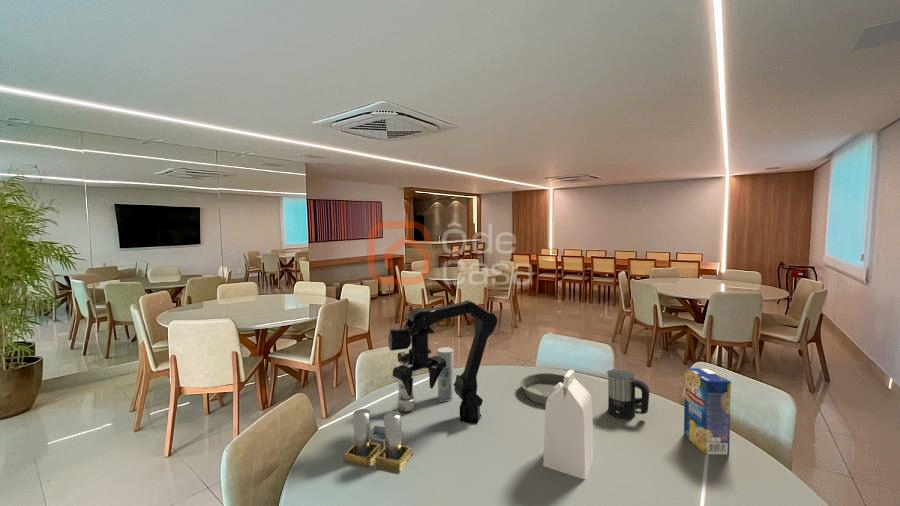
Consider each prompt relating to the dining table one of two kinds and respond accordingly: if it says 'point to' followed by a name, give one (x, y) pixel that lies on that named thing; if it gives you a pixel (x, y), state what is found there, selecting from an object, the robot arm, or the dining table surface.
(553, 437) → the milk
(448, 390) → the spray can
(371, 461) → the gold holder tray
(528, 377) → the cake pan
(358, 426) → the billet twin
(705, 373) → the blue cardboard box
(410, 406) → the plastic bottle
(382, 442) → the grey square dish
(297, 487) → the dining table surface
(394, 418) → the billet
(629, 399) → the milk frother
